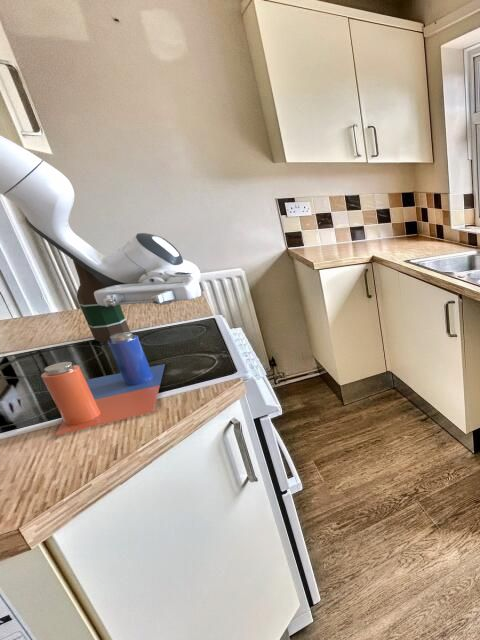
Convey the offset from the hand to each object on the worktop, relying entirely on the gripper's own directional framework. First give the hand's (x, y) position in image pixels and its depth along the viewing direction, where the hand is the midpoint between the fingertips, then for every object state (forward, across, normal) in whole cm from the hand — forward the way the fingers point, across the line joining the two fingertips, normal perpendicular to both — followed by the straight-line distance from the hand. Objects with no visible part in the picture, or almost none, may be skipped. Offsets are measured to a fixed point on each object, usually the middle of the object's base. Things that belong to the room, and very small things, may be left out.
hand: (131, 301), depth 98 cm
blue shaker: (+11, +2, +15) cm, 19 cm away
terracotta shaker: (+26, 0, +15) cm, 30 cm away
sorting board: (+17, +1, +16) cm, 24 cm away
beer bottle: (-23, -20, +16) cm, 34 cm away
